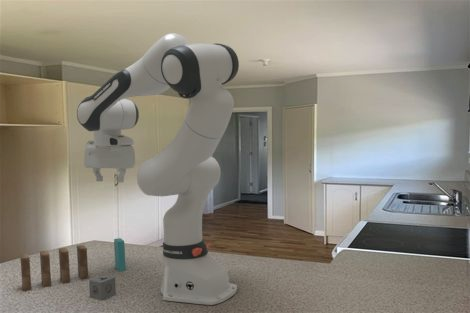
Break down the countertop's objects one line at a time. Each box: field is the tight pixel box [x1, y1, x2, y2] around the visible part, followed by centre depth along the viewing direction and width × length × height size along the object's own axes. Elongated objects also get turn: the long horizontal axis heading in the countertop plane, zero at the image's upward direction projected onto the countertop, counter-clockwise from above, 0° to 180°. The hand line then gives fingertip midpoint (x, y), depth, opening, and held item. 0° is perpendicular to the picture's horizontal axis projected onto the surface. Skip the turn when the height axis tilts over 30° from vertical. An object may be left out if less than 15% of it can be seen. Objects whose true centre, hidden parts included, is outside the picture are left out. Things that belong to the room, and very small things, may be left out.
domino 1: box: [19, 253, 32, 292], centre depth 125 cm, size 2×5×10 cm, turn 30°
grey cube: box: [88, 274, 117, 301], centre depth 117 cm, size 5×5×5 cm
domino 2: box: [39, 250, 52, 288], centre depth 128 cm, size 2×5×10 cm, turn 31°
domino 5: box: [113, 237, 127, 272], centre depth 140 cm, size 2×5×10 cm, turn 30°
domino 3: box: [58, 247, 71, 284], centre depth 130 cm, size 2×5×10 cm, turn 30°
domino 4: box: [76, 244, 89, 281], centre depth 133 cm, size 2×5×10 cm, turn 30°
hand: (109, 181), depth 136 cm, fingers open, 8 cm apart
